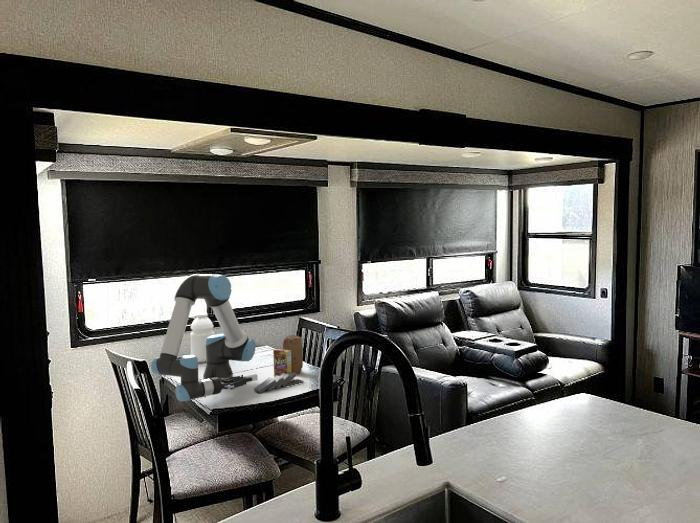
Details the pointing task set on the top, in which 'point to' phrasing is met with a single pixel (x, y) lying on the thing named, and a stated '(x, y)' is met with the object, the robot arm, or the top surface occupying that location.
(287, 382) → the domino
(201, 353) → the bottle
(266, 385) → the domino
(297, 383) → the domino
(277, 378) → the domino
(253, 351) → the robot arm
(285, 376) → the domino
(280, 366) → the candy box
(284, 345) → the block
